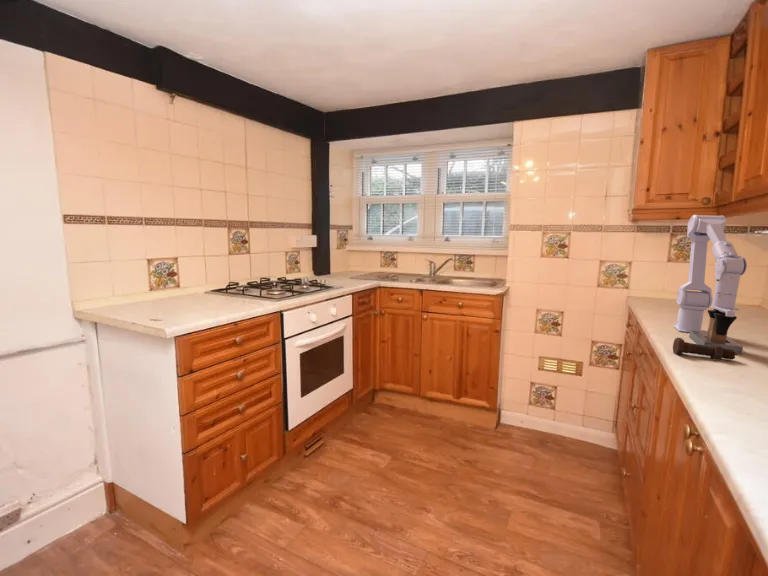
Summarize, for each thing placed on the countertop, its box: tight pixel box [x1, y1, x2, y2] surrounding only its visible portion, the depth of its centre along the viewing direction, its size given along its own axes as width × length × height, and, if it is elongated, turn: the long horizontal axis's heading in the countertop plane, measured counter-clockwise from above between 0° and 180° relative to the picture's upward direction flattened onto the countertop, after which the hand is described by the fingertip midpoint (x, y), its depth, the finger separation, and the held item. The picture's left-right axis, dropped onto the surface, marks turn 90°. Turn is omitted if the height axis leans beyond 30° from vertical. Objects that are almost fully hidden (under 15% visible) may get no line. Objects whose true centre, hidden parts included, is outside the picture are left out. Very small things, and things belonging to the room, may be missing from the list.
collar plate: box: [688, 330, 744, 355], centre depth 136 cm, size 16×10×2 cm, turn 156°
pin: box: [707, 317, 728, 342], centre depth 134 cm, size 4×4×8 cm
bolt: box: [672, 337, 737, 361], centre depth 123 cm, size 6×5×15 cm
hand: (718, 333), depth 134 cm, fingers closed on pin, 4 cm apart
